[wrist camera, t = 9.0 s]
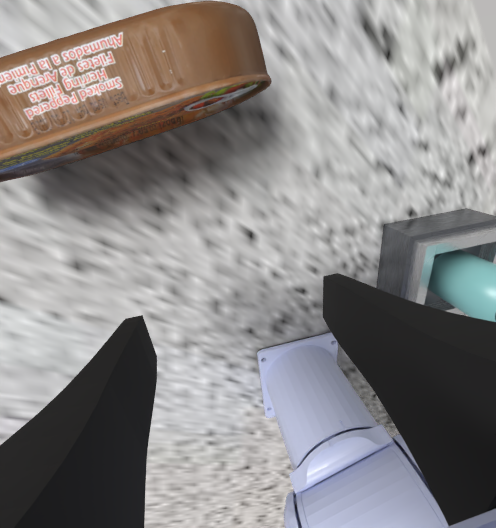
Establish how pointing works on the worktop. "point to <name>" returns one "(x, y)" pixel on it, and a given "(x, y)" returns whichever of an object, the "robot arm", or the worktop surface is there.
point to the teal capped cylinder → (465, 283)
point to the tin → (125, 83)
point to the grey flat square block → (431, 251)
